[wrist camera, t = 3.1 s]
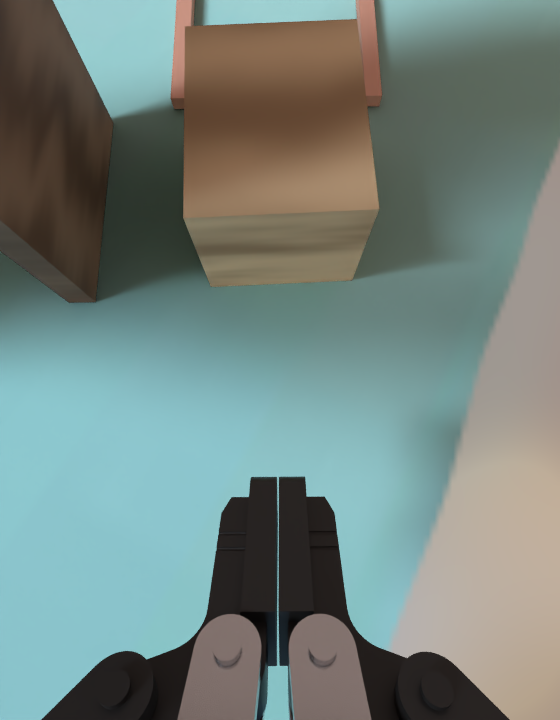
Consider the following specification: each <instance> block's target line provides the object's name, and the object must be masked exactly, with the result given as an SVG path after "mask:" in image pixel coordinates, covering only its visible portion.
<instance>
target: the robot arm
mask: <svg viewBox="0 0 560 720" xmlns="http://www.w3.org/2000/svg"><path fill="white" fill-rule="evenodd" d="M277 553H278V511H277V477H251V481H250V493H249V497H231V499H230V501H229V502H228V504H227V505H226V507H225V509H224V510H223V512H222V514H221V521H220V528H219V535H218V542H217V551H216V555H215V562H214V569H213V576H212V583H211V590H210V597H209V604H208V610H207V615H206V617H205V620H204V622H203V624H202V626H201V627H200V629H199V630H198V632H197V633H196V634H195V635H194V636H193V637H192V638H191V639H190V640H189V641H188V642H187V643H185V644H183V645H182V646H180V647H178V648H176V649H174V650H171V651H168V652H166V653H163V654H160V655H158V656H155V657H152V658H150V659H147V660H146V659H145V658H144V657H143V656H142V655H140V654H138V653H136V652H132V651H123V652H118V653H115V654H113V655H110V656H108V657H107V658H105V659H104V660H102V661H101V662H100V663H99V664H97V665H96V666H95V667H94V668H93V669H92V670H91V671H90V672H89V673H88V674H87V675H86V676H85V677H84V678H83V679H82V680H81V681H80V682H79V683H78V684H77V685H76V686H75V687H74V688H73V689H72V690H71V691H70V692H69V693H68V694H67V695H66V696H65V697H64V698H63V699H62V700H61V701H60V702H59V703H58V704H57V705H56V706H55V707H54V708H53V709H52V710H51V711H50V712H49V713H48V714H47V715H46V716H45V717H44V718H43V719H42V720H264V713H265V708H266V704H267V687H268V666H277ZM279 657H280V666H288V710H289V720H509V719H508V718H507V717H506V716H505V715H504V714H503V713H502V712H501V711H500V710H499V709H498V708H497V707H496V706H495V705H494V704H493V703H492V702H491V701H490V700H489V699H488V698H487V697H486V696H485V695H484V694H483V693H482V692H481V691H480V690H479V689H478V688H477V687H476V686H475V685H474V684H473V683H472V682H471V681H470V680H469V679H468V678H467V677H466V676H465V675H464V674H463V673H462V672H461V671H460V670H459V669H458V668H457V667H456V666H455V665H454V664H453V663H452V662H451V661H449V660H448V659H446V658H445V657H443V656H440V655H438V654H435V653H432V652H419V653H416V654H413V655H411V656H410V657H409V658H405V657H402V656H400V655H397V654H394V653H391V652H389V651H386V650H383V649H381V648H378V647H376V646H374V645H372V644H371V643H369V642H368V641H367V640H365V639H364V638H363V637H362V636H361V635H360V634H359V633H358V632H357V630H356V629H355V627H354V626H353V624H352V622H351V620H350V617H349V615H348V610H347V604H346V597H345V589H344V582H343V574H342V567H341V559H340V552H339V544H338V537H337V529H336V522H335V514H334V511H333V510H332V508H331V506H330V505H329V503H328V502H327V500H326V498H325V497H306V484H305V477H279Z"/></svg>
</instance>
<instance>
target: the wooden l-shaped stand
mask: <svg viewBox="0 0 560 720" xmlns="http://www.w3.org/2000/svg"><path fill="white" fill-rule="evenodd" d="M112 133H113V121H112V119H111V117H110V115H109V113H108V111H107V109H106V107H105V105H104V103H103V101H102V99H101V97H100V95H99V93H98V91H97V89H96V87H95V85H94V83H93V81H92V79H91V77H90V75H89V73H88V71H87V69H86V67H85V65H84V63H83V61H82V59H81V57H80V55H79V53H78V51H77V49H76V47H75V45H74V43H73V40H72V38H71V36H70V34H69V32H68V30H67V28H66V26H65V24H64V22H63V20H62V18H61V16H60V14H59V12H58V10H57V8H56V6H55V4H54V2H53V0H0V251H1V252H2V253H3V254H5V255H6V256H7V257H9V258H10V259H11V260H13V261H14V262H15V263H17V264H18V265H19V266H21V267H22V268H23V269H25V270H26V271H27V272H29V273H30V274H31V275H33V276H34V277H35V278H37V279H38V280H39V281H41V282H42V283H43V284H45V285H46V286H47V287H49V288H50V289H51V290H53V291H54V292H55V293H57V294H58V295H59V296H61V297H62V298H63V299H65V300H66V301H67V302H69V303H74V302H96V293H97V283H98V273H99V263H100V253H101V243H102V233H103V223H104V213H105V203H106V193H107V183H108V173H109V163H110V153H111V143H112Z"/></svg>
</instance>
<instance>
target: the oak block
mask: <svg viewBox="0 0 560 720" xmlns="http://www.w3.org/2000/svg"><path fill="white" fill-rule="evenodd" d="M378 212H379V201H378V193H377V184H376V176H375V167H374V159H373V151H372V142H371V134H370V125H369V117H368V108H367V100H366V91H365V83H364V74H363V66H362V58H361V49H360V41H359V32H358V24H357V19H350V20H326V21H302V22H278V23H254V24H230V25H206V26H185V70H184V192H183V219H184V221H185V224H186V226H187V229H188V231H189V234H190V236H191V238H192V241H193V243H194V246H195V248H196V251H197V253H198V256H199V258H200V261H201V263H202V266H203V268H204V271H205V273H206V276H207V278H208V281H209V283H210V286H211V287H221V286H243V285H265V284H286V283H308V282H329V281H351V280H352V279H353V277H354V274H355V271H356V269H357V266H358V264H359V261H360V258H361V256H362V253H363V251H364V248H365V246H366V243H367V240H368V238H369V235H370V233H371V230H372V227H373V225H374V222H375V220H376V217H377V214H378Z"/></svg>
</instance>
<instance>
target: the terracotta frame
mask: <svg viewBox="0 0 560 720" xmlns="http://www.w3.org/2000/svg"><path fill="white" fill-rule="evenodd" d="M194 10H195V0H177V4H176V20H175V37H174V53H173V69H172V85H171V101H172V104H173V108H174V109H184V70H185V26H194ZM356 11H357V24H358V32H359V41H360V49H361V58H362V66H363V74H364V83H365V91H366V100H367V106H379V105H380V101H381V97H382V90H381V78H380V66H379V54H378V42H377V30H376V18H375V7H374V0H356Z"/></svg>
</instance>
